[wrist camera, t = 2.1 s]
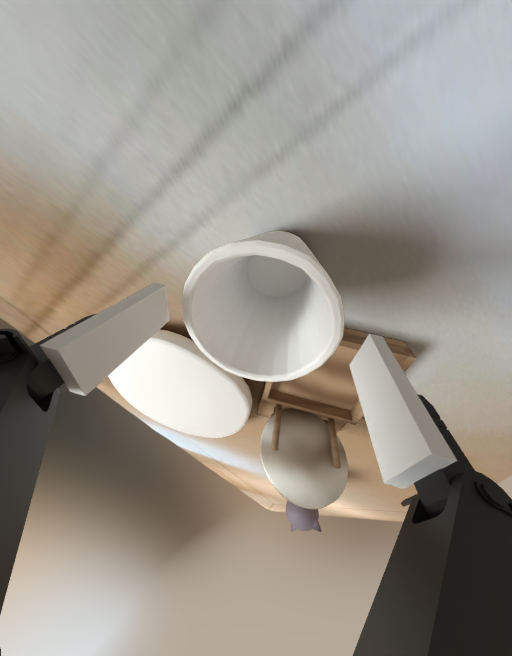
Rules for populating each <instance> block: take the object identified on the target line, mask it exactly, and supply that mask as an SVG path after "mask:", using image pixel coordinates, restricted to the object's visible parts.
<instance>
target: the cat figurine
mask: <svg viewBox="0 0 512 656" xmlns="http://www.w3.org/2000/svg"><path fill="white" fill-rule="evenodd" d="M286 514H287V517H288V520H289V521H290V523H291V532H292V531H294V530H296V529H298V530H301V531H309V530H311V529H315V530H317V531H320V532H321V529H320V526H319V523H318V517H319V513H318V509H307V508H302V507H299V506H297V505H295V504H293V503H291V502H289V501H287V504H286Z"/></svg>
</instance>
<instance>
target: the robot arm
mask: <svg viewBox="0 0 512 656" xmlns="http://www.w3.org/2000/svg"><path fill="white" fill-rule="evenodd" d="M169 320H170V319H169V311H168V303H167V295H166V287H165V285H162V284H158V283H153V284H151V285H149V286H147V287H145V288H143V289H142V290H140V291H138V292H136V293H134V294H132V295H131V296H129V297H127V298H125V299H123V300H121V301H120V302H118V303H116V304H114V305H112V306H111V307H109V308H107V309H105V310H103V311H101V312H100V313H97V314H94V315H91V316H87V317H85V318H83V319H81V320H79V321H77V322H75V324H72V325H70V326H68V327H66V329H62V330H60V331H58V332H56V333H55V334H53V335H51V336H49V337H47V338H45V339H43V340H41V341H40V342H38V343H36V344H34V345H32V346H30V347H28V345H27V344H26V343H25V341H24V340H23V339H22V337H21V335H20V334H19V333H18V332H17V331H16V330H13V329H0V613H1V610H2V606H3V602H4V599H5V595H6V591H7V588H8V583H9V580H10V576H11V573H12V569H13V565H14V562H15V558H16V554H17V551H18V547H19V543H20V540H21V536H22V532H23V529H24V525H25V521H26V517H27V514H28V510H29V506H30V503H31V499H32V495H33V492H34V488H35V484H36V481H37V477H38V473H39V470H40V466H41V462H42V458H43V455H44V451H45V447H46V444H47V440H48V436H49V433H50V428H51V425H52V422H53V418H54V414H55V410H56V407H57V403H58V399H59V396H60V390H59V389H58V387H60V386H61V385H62V384H64V383H65V384H66V386H67V387H68V389H69V390H70V391H71V392H74V393H77V394H81V395H84V396H86V395H87V394H88V393H89V392H90V391H91V390H93V389H94V388H95V387H96V386H97V385H98V384H99V383H100V382H102V381H103V380H104V379H105V378H106V377H107V376H108V375H109V374H110V373H112V372H113V371H114V370H115V369H116V368H117V367H118V366H119V365H120V364H122V363H123V362H124V361H125V360H126V359H127V358H128V357H129V356H131V355H132V354H133V353H134V352H135V351H136V350H137V349H138V348H139V347H141V346H142V345H143V344H144V343H145V342H146V341H147V340H148V339H149V338H151V337H152V336H153V335H154V334H155V333H156V332H157V331H158V330H159V329H161V328H162V327H163V326H164V325H165V324H166V323H167V322H168V321H169ZM349 366H350V370H351V373H352V376H353V380H354V383H355V386H356V390H357V393H358V397H359V400H360V403H361V407H362V410H363V413H364V417H365V420H366V424H367V427H368V430H369V434H370V437H371V440H372V444H373V447H374V451H375V454H376V457H377V461H378V464H379V467H380V471H381V474H382V478H383V481H384V483H385V484H389V485H392V486H395V487H399V488H402V489H405V488H407V487H409V486H411V485H412V484H414V485H415V487H416V490H417V492H418V494H416V495H414V496H412V497H410V498H408V499H405V500H404V501H403V502H402V503H401V505H402V506H403V507H404V506H406V505H409V504H410V506H409V509H408V512H407V514H406V517H405V520H404V522H403V525H402V528H401V530H400V533H399V535H398V538H397V541H396V543H395V546H394V549H393V551H392V554H391V557H390V559H389V562H388V564H387V567H386V570H385V572H384V575H383V577H382V580H381V583H380V585H379V588H378V590H377V593H376V596H375V598H374V601H373V604H372V606H371V609H370V612H369V614H368V617H367V619H366V622H365V625H364V627H363V630H362V633H361V635H360V638H359V640H358V643H357V646H356V649H355V651H354V654H353V656H512V499H511V498H510V497H509V496H508V495H507V494H506V492H505V491H504V490H503V489H502V488H501V487H499V486H498V485H497V484H496V483H495V482H494V481H493V480H491V479H490V478H488V477H486V476H485V475H483V474H482V473H479V472H476V471H475V470H474V469H473V467H472V466H471V464H470V463H469V461H468V459H467V458H466V456H465V455H464V453H463V452H462V450H461V449H460V447H459V446H458V444H457V442H456V441H455V439H454V438H453V436H452V435H451V433H450V432H449V430H447V427H446V425H445V424H444V422H443V421H442V420H440V416H439V415H438V413H437V412H436V410H435V408H434V407H433V406H432V405H431V404H430V403H429V402H428V401H427V400H426V399H425V398H424V397H423V396H422V395H418V394H417V393H416V391H415V390H414V388H413V387H412V385H411V383H410V382H409V380H408V378H407V377H406V375H405V373H404V372H403V370H402V368H401V367H400V365H399V363H398V362H397V360H396V358H395V357H394V355H393V353H392V352H391V350H390V349H389V347H388V345H387V344H386V342H385V340H384V339H383V337H382V336H377V335H373V334H369V335H368V337H367V338H366V340H365V341H364V343H363V344H362V346H361V348H360V349H359V351H358V352H357V354H356V356H355V357H354V359H353V360H352V362H351V363H350V365H349ZM0 656H1V649H0Z"/></svg>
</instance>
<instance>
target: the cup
mask: <svg viewBox="0 0 512 656" xmlns="http://www.w3.org/2000/svg"><path fill="white" fill-rule="evenodd" d="M181 303H182V316H183V321H184V323H185V325H186V328H187V330H188V332H189V335H190V336H191V338H192V339H193V341H194V342H195V344H196V345H197V346H198V348H199V349H200V350H201V351H202V352H203V353H204V354H205V355H206V356H207V357H208V358H209V359H210V360H211V361H212V362H214V363H215V364H217V365H218V366H220V367H221V368H222V369H224V370H225V371H228V372H230V373H233V374H235V375H238V376H240V377H244V378H248V379H252V380H256V381H268V382H278V381H290V380H293V379H296V378H299V377H302V376H304V375H307V374H309V373H310V372H312V371H314V370H315V369H317V368H319V367H320V366H322V365H323V364H324V363H325V362H326V361H327V359H328V358H329V357H330V356H331V355H332V354H333V353H334V352H335V350H336V348H337V346H338V345H339V343H340V341H341V339H342V337H343V330H344V320H345V316H344V311H343V306H342V300H341V296H340V294H339V292H338V291H337V289H336V287H335V285H334V284H333V282H332V280H331V278H330V277H329V275H328V274H327V272H326V271H325V270H324V268H323V267H322V265H321V264H320V263H319V261H318V260H317V259H316V257H315V256H314V255H313V253H312V252H311V251H310V249H309V248H308V247H307V245H306V244H305V243H304V242H303V241H302V240H301V239H300V238H299V237H298V236H296V235H294V234H291V233H289V232H284V231H274V232H268V233H264V234H261V235H257V236H254V237H250V238H247V239H244V240H240V241H237V242H233V243H230V244H228V245H225V246H222V247H220V248H217V249H215V250H212V251H209V252H208V253H207V254H206V255H205V256H204V257H203V258H202V259H201V260H200V261H199V262H198V263H197V264H196V265H195V266H194V268H193V270H192V271H191V273H190V275H189V277H188V279H187V281H186V282H185V284H184V290H183V296H182V302H181Z"/></svg>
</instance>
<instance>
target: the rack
mask: <svg viewBox="0 0 512 656" xmlns="http://www.w3.org/2000/svg"><path fill="white" fill-rule="evenodd" d="M368 335H369V333H365V332H360V331H356V330H352V329H348V328H344V330H343V337H342V339H341V341H340V343H339V345H338V346H337V348H336V350H335V352H334V353H333V354H332V355H331V356H330V357H329V358H328V359H327V361H326V362H325V363H324V364H323V365H322V366H320V367H319V368H317V369H315V370H314V371H312V372H310V373H309V374H307V375H304V376H302V377H299V378H296V379H293V380H290V381H278V382H268V381H266V382H265V386H264V389H263V393H262V396H261V400H260V403H259V407H258V411H257V415H261V416H264V417H268V418H270V419H269V420H268V422H267V423H266V425H265V427H264V430H263V433H262V436H261V442H260V454H261V460H262V464H263V467H264V470H265V473H266V475H267V477H268V479H269V480H270V482H271V483H272V485H273V486H274V487H275V489H276V490H277V491H278V492H279V493H280V494H281V495H282V496H283V497H284V498H285V499H287V500H288V501H289V502H291V503H293V504H295V505H297V506H299V507H302V508H307V509H320V508H323V507H326V506H328V505H330V504H331V503H333V502H334V501H336V500H337V499H338V498H339V497H340V495H341V494H342V492H343V491H344V488H345V486H346V483H347V478H348V463H347V458H346V454H345V451H344V448H343V446H342V444H341V442H340V440H339V438H338V436H337V435H336V433H337V432H338V431H339V430H340V429H341V427H342V426H343V425H344V424H345V423H346V422H347V423H350V424H354V425H355V424H356V423H357V422H358V421H359V420H360V419H361V418H362V417H363V416H364V413H363V410H362V407H361V403H360V400H359V397H358V393H357V390H356V386H355V383H354V380H353V376H352V373H351V370H350V366H349V365H350V363H351V362H352V360H353V359H354V357H355V356H356V354H357V352H358V351H359V349H360V348H361V346H362V344H363V343H364V341H365V340H366V338H367V337H368ZM383 339H384V340H385V342H386V344H387V345H388V347H389V349H390V350H391V352H392V353H393V355H394V357H395V358H396V360H397V362H398V363H399V365H400V367H401V368H402V370H403V372H404V371H405V370H406V369H407V368H408V367H409V366H410V365H411V364H412V363H413V361H414V360H415V359H416V357H415V355H414V354H413V353H412V351H411V350H410V348H409V347H408V346H407V344H406V343H405V342H403V341H399V340H394V339H390V338H386V337H383Z"/></svg>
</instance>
